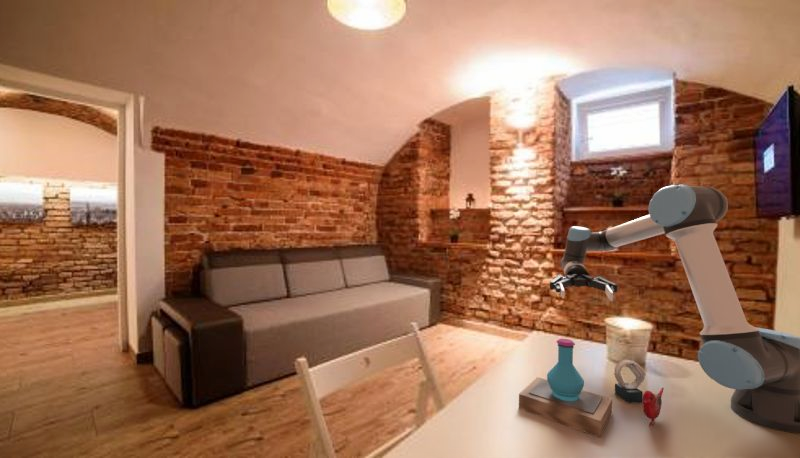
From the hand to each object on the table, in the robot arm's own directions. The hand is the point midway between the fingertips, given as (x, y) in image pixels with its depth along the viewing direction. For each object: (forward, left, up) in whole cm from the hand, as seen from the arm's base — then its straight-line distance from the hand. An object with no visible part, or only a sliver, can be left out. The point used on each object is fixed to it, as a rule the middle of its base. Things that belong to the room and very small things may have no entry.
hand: (587, 295), depth 110 cm
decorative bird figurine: (-18, +10, -29) cm, 36 cm away
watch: (-11, 0, -29) cm, 31 cm away
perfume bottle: (+1, +20, -25) cm, 31 cm away
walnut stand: (+1, +20, -29) cm, 35 cm away
